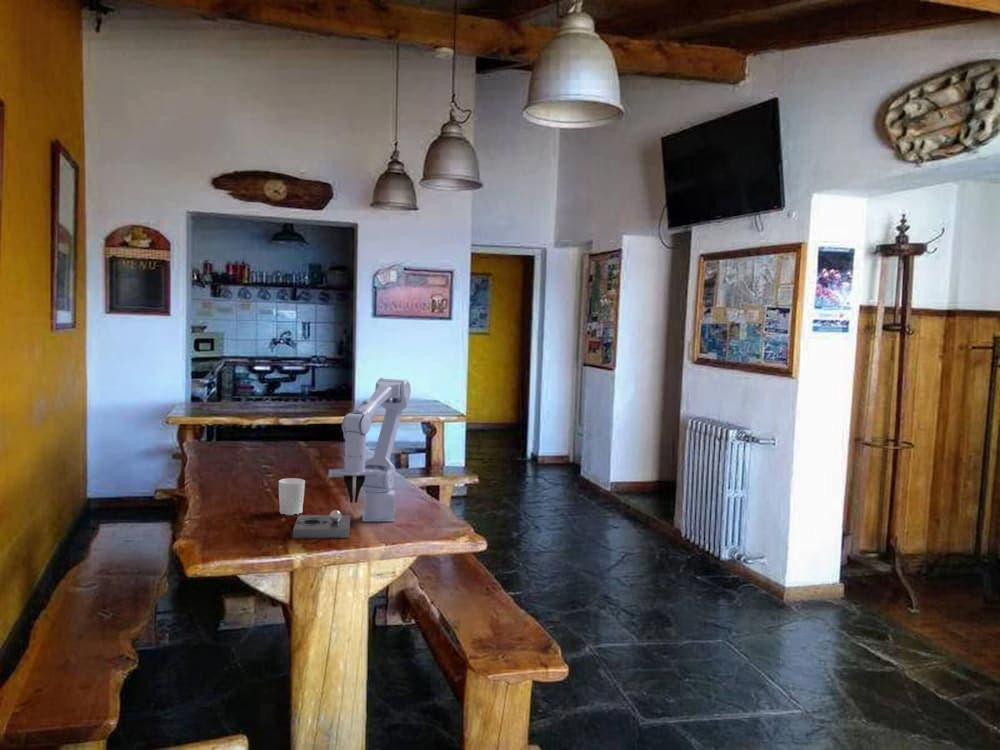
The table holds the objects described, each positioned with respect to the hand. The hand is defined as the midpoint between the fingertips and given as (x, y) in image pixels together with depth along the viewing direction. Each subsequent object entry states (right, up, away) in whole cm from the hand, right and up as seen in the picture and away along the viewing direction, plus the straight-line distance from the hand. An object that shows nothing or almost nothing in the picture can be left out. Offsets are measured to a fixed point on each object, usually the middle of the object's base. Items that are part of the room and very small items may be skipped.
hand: (353, 501), depth 216 cm
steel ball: (-5, -4, -1) cm, 7 cm away
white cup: (-23, -6, +17) cm, 29 cm away
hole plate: (-9, -8, -1) cm, 12 cm away
